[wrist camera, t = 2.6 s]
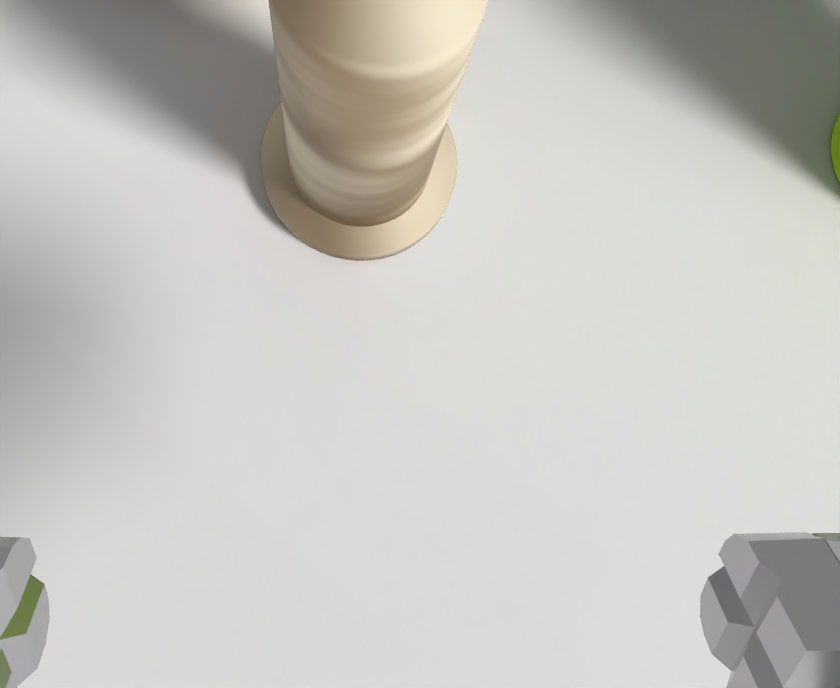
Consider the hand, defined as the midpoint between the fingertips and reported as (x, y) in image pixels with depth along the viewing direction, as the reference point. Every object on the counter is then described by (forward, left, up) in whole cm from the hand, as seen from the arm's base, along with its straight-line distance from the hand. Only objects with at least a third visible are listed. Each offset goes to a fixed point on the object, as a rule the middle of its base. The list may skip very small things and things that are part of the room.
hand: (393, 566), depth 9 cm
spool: (0, -11, -15) cm, 19 cm away
